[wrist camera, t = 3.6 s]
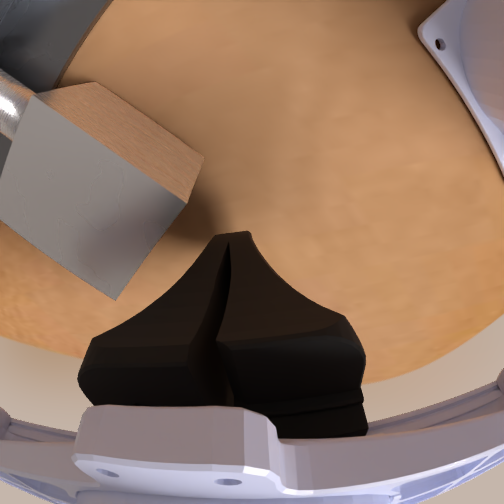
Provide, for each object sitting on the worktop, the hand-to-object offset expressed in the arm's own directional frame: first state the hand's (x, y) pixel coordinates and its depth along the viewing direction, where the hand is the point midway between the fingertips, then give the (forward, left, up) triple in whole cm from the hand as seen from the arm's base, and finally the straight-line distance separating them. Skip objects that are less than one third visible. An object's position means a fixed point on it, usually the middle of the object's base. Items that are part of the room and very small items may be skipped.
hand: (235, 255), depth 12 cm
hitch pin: (+11, 0, -1) cm, 12 cm away
